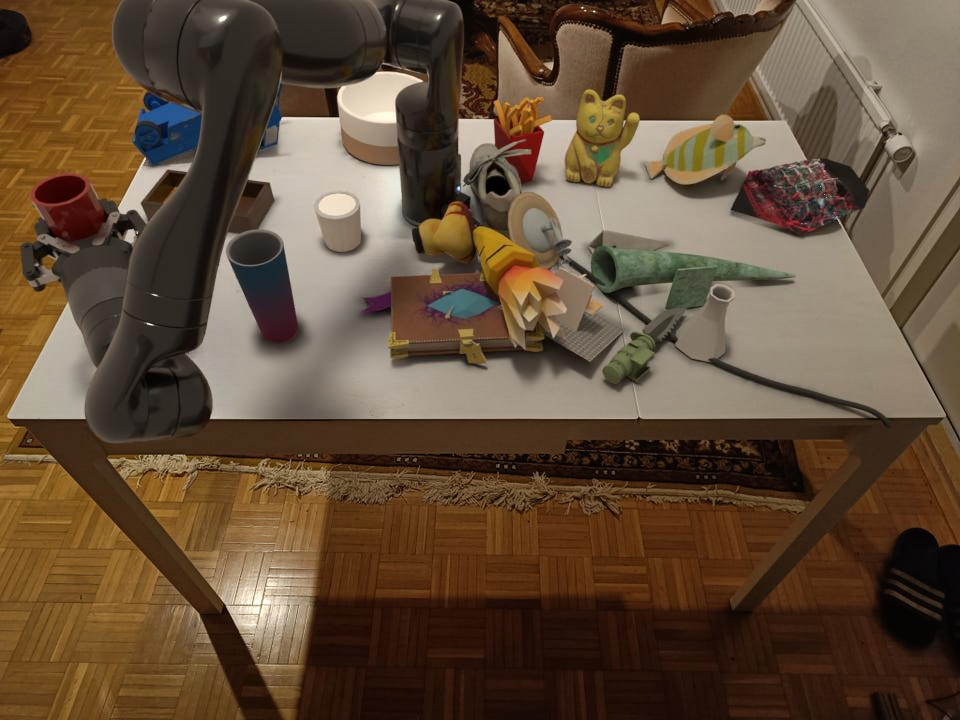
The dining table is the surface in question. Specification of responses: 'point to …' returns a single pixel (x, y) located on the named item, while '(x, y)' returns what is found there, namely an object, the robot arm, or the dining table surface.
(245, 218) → the caddy
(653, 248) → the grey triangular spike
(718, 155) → the decorative fish sculpture
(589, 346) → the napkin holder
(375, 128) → the bowl
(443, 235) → the toy
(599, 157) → the figurine
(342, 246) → the shot glass
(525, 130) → the french fries
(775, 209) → the fabric swatch
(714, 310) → the flask
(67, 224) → the tumbler
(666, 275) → the decorative horn
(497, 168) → the shoe
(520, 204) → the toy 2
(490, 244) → the torch
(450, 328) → the book
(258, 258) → the cup
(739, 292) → the dining table surface
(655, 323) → the knife
